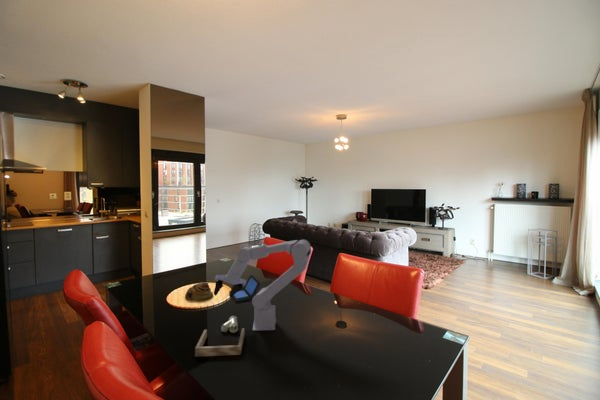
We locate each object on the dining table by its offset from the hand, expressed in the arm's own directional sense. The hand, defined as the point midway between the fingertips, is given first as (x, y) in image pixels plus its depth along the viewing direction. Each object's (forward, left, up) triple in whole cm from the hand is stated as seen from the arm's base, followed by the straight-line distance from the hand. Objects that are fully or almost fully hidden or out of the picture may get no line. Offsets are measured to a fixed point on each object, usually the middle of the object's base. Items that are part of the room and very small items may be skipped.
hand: (222, 294), depth 125 cm
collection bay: (-3, +19, -12) cm, 23 cm away
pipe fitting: (-4, +7, -12) cm, 15 cm away
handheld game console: (-6, -28, -12) cm, 31 cm away
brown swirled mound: (+18, -29, -12) cm, 36 cm away
